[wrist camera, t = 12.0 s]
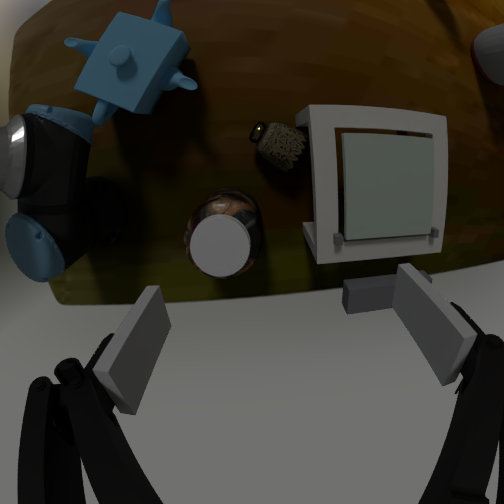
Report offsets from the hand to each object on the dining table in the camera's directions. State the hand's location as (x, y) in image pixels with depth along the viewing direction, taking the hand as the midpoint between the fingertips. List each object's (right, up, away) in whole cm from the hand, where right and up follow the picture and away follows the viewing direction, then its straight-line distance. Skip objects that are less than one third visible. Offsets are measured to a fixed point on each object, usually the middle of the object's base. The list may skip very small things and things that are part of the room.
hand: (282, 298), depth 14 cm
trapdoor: (+18, +7, +21) cm, 28 cm away
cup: (-2, +22, +26) cm, 34 cm away
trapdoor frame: (+18, +17, +32) cm, 40 cm away
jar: (-6, +8, +36) cm, 38 cm away
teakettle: (-21, +36, +25) cm, 49 cm away
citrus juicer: (+55, +48, +19) cm, 75 cm away
